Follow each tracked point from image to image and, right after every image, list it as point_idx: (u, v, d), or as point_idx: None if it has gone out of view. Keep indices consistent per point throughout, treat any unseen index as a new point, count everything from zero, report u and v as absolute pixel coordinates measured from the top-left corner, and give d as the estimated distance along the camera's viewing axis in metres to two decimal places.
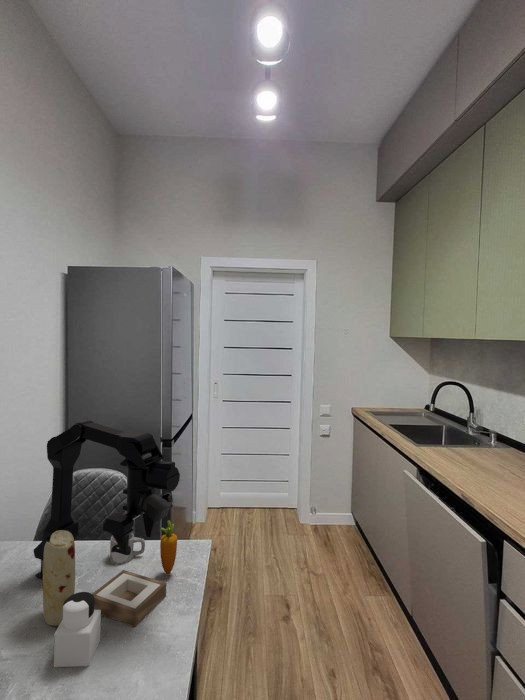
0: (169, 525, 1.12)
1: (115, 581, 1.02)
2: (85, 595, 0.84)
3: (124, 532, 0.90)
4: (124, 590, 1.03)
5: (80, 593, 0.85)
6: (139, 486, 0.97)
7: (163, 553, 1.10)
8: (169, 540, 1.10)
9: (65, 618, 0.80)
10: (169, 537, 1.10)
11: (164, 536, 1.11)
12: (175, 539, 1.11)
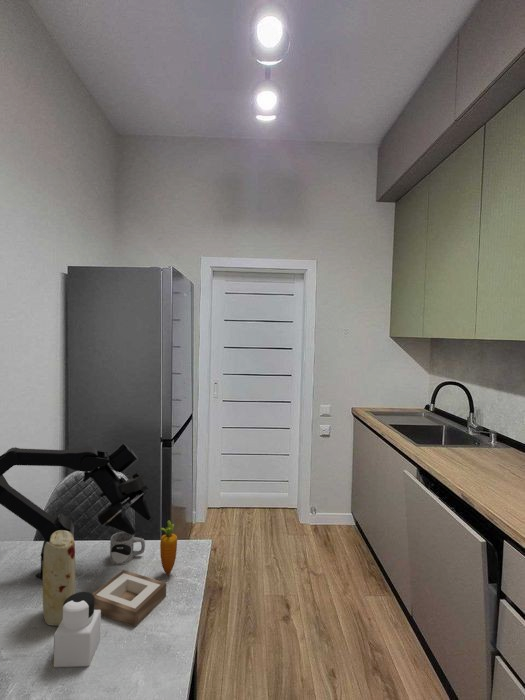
0: (169, 525, 1.12)
1: (115, 581, 1.02)
2: (85, 595, 0.84)
3: (116, 510, 1.04)
4: (124, 590, 1.03)
5: (80, 593, 0.85)
6: (112, 478, 1.13)
7: (163, 553, 1.10)
8: (169, 540, 1.10)
9: (65, 619, 0.80)
10: (169, 537, 1.10)
11: (164, 536, 1.11)
12: (175, 539, 1.11)
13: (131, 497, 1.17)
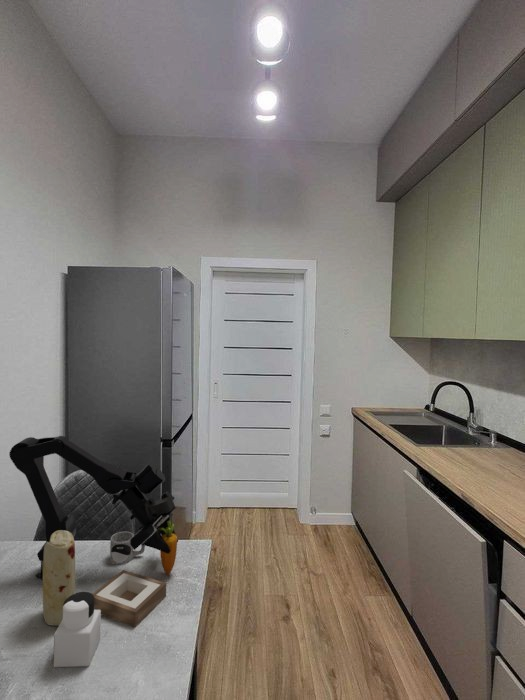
0: (169, 525, 1.12)
1: (115, 581, 1.02)
2: (85, 595, 0.84)
3: (149, 534, 1.03)
4: (124, 590, 1.03)
5: (80, 593, 0.85)
6: (139, 500, 1.11)
7: (163, 553, 1.10)
8: (169, 540, 1.10)
9: (65, 618, 0.80)
10: (169, 537, 1.10)
11: (164, 536, 1.11)
12: (175, 539, 1.11)
13: (157, 520, 1.14)
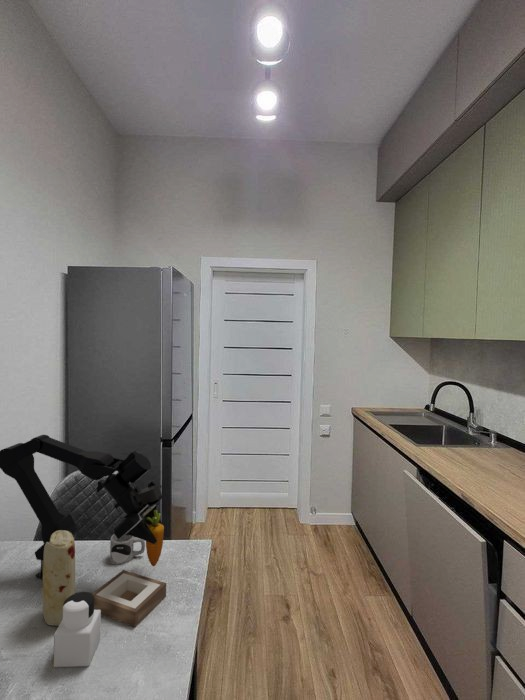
0: (155, 514, 1.07)
1: (115, 581, 1.02)
2: (85, 595, 0.84)
3: (134, 523, 0.98)
4: (124, 590, 1.03)
5: (80, 593, 0.85)
6: (123, 490, 1.06)
7: (148, 543, 1.05)
8: (155, 530, 1.05)
9: (65, 618, 0.80)
10: (155, 527, 1.06)
11: (150, 526, 1.06)
12: (162, 529, 1.06)
13: (143, 510, 1.09)
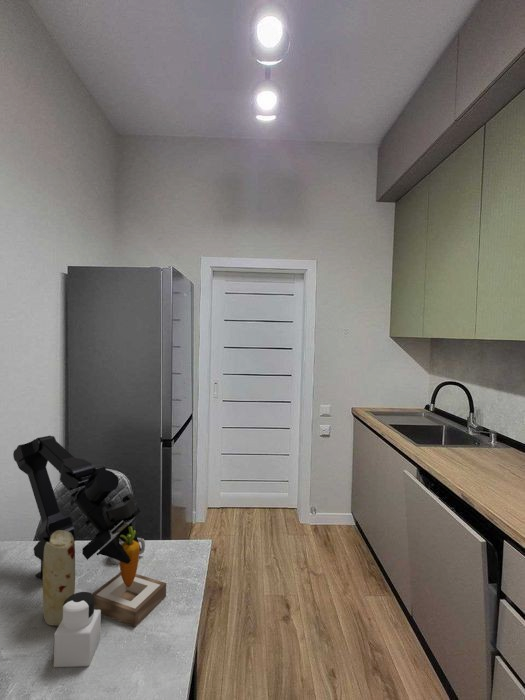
0: (130, 531, 1.00)
1: (115, 581, 1.02)
2: (85, 595, 0.84)
3: (104, 542, 0.91)
4: (124, 590, 1.03)
5: (80, 593, 0.85)
6: (91, 508, 0.98)
7: (122, 563, 0.97)
8: (129, 549, 0.97)
9: (65, 618, 0.80)
10: (130, 545, 0.98)
11: (124, 544, 0.99)
12: (136, 547, 0.98)
13: (118, 526, 1.01)
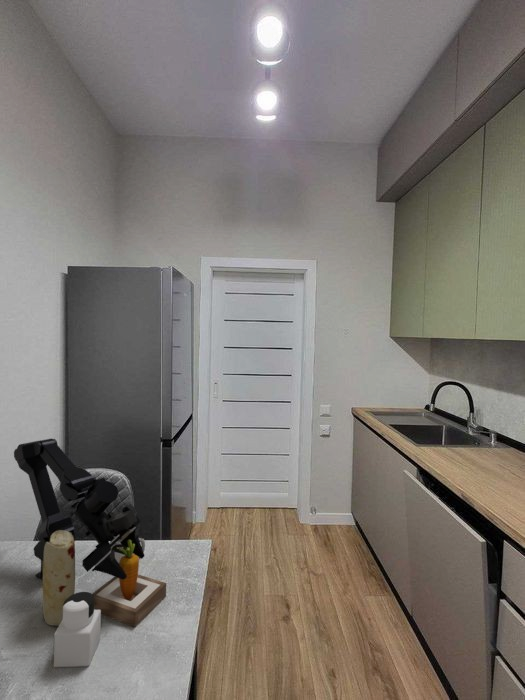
0: (129, 545, 1.00)
1: (115, 581, 1.02)
2: (85, 595, 0.84)
3: (104, 554, 0.91)
4: None
5: (80, 593, 0.85)
6: (91, 519, 0.98)
7: None
8: (129, 562, 0.97)
9: (65, 618, 0.80)
10: (129, 559, 0.98)
11: (123, 557, 0.99)
12: (136, 561, 0.99)
13: (121, 533, 1.03)
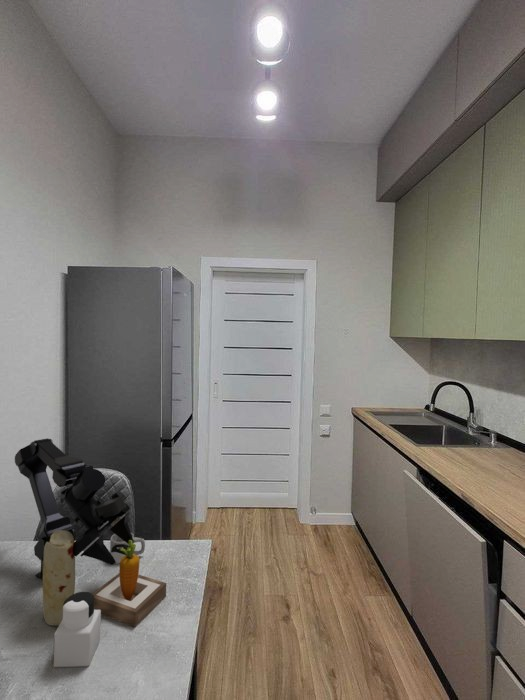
0: (130, 545, 1.00)
1: (115, 581, 1.02)
2: (85, 595, 0.84)
3: (92, 539, 0.91)
4: None
5: (80, 593, 0.85)
6: (79, 506, 0.98)
7: (122, 577, 0.97)
8: (129, 563, 0.97)
9: (65, 618, 0.80)
10: (129, 559, 0.98)
11: (124, 558, 0.99)
12: (136, 561, 0.99)
13: (111, 520, 1.04)
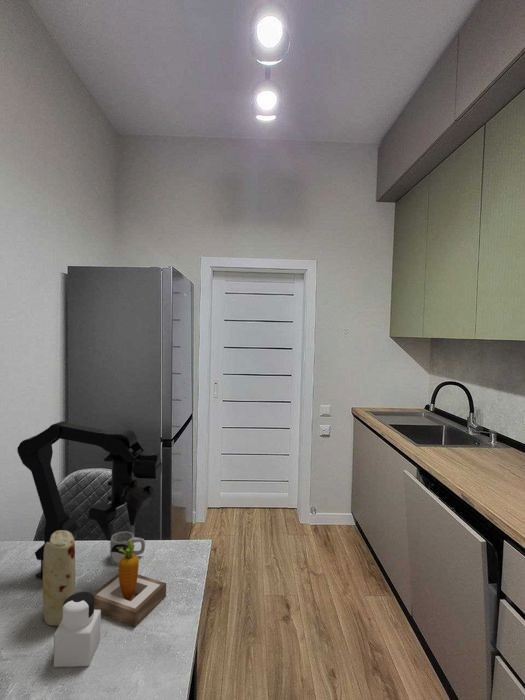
0: (129, 545, 1.00)
1: (115, 581, 1.02)
2: (85, 595, 0.84)
3: (107, 520, 1.00)
4: None
5: (80, 593, 0.85)
6: (126, 478, 1.06)
7: (121, 577, 0.97)
8: (128, 563, 0.97)
9: (65, 618, 0.80)
10: (128, 559, 0.98)
11: (123, 558, 0.99)
12: (135, 561, 0.98)
13: None
